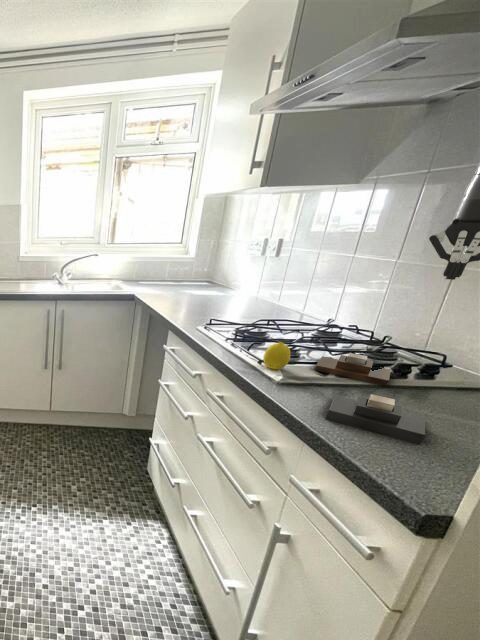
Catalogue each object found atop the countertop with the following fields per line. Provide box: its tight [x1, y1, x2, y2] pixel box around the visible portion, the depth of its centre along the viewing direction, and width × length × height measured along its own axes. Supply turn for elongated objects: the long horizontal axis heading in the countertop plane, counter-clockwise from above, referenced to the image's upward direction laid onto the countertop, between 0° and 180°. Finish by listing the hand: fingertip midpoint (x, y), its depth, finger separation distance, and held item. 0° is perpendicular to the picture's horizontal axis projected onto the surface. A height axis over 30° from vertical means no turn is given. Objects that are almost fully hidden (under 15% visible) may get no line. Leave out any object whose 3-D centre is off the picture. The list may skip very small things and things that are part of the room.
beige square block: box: [346, 352, 368, 365], centre depth 106 cm, size 4×4×2 cm
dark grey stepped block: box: [324, 395, 426, 446], centre depth 84 cm, size 14×10×4 cm
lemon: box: [263, 341, 291, 370], centre depth 109 cm, size 6×6×8 cm
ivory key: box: [367, 393, 396, 412], centre depth 83 cm, size 4×4×2 cm
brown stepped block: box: [314, 354, 392, 386], centre depth 107 cm, size 14×10×4 cm
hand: (449, 278), depth 97 cm, fingers closed
